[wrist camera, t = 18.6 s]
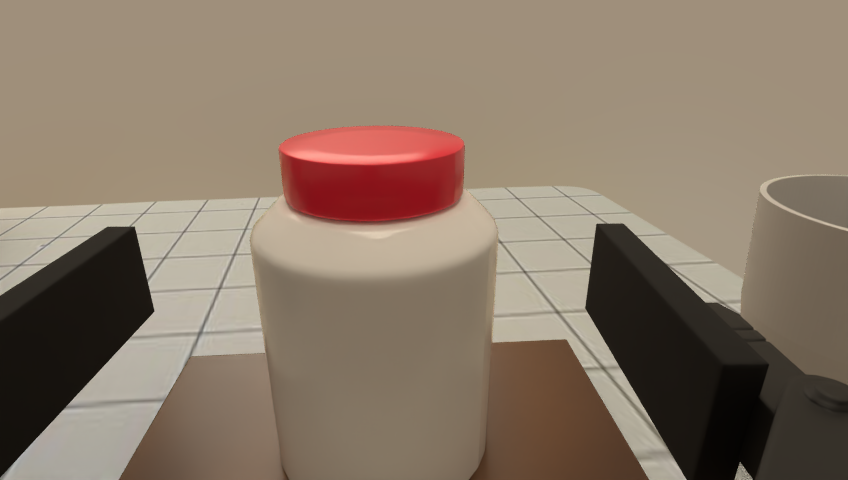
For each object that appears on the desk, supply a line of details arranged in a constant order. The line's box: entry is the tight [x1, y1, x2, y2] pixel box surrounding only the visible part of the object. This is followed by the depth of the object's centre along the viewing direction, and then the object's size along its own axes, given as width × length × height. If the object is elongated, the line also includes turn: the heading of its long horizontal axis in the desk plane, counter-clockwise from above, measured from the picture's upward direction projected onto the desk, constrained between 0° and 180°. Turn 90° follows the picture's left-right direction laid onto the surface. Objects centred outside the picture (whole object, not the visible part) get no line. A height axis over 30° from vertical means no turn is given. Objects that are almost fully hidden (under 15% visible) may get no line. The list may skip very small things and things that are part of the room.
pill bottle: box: [250, 126, 498, 480], centre depth 18 cm, size 8×8×11 cm
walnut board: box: [119, 339, 649, 480], centre depth 20 cm, size 18×11×1 cm, turn 94°
